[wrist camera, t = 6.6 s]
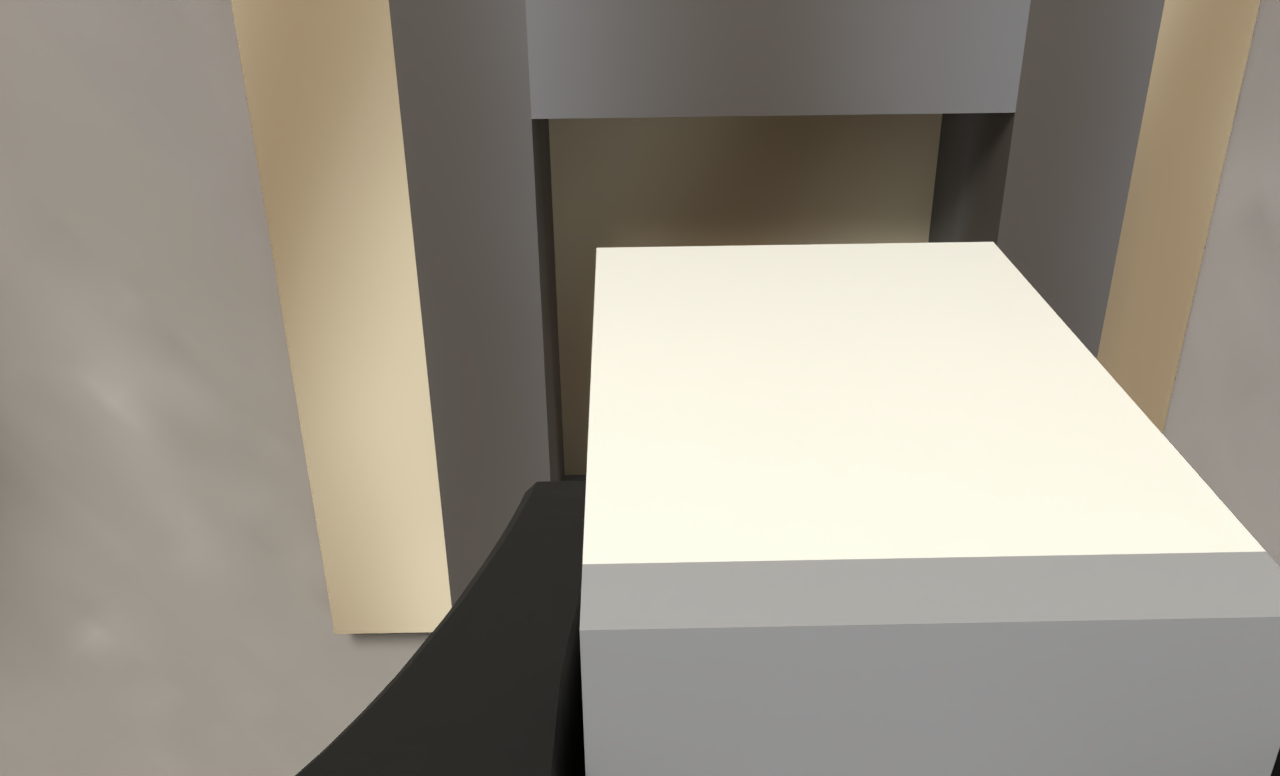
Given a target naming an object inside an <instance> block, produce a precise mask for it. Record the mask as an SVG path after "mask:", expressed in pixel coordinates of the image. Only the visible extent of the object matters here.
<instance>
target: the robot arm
mask: <svg viewBox="0 0 1280 776" xmlns="http://www.w3.org/2000/svg"><path fill="white" fill-rule="evenodd" d="M585 496H586V481H542V482H536V483H535V484H534V485H533V486H532V487H531V488H529V489H528V490H527V491H526V492H525V494H524V496H523V498H522V500H521V502H520V504H519V506H518V508H517V510H516V512H515V513H514V515H513V517H512V519H511V520H510V522H509V524H508V526H507V527H506V529H505V531H504V532H503V534H502V535H501V537H500V539H499V540H498V542H497V543H496V545H495V546H494V548H493V550H492V551H491V553H490V554H489V556H488V557H487V559H486V560H485V562H484V563H483V565H482V566H481V568H480V569H479V570H478V572H477V573H476V575H475V576H474V577H473V579H472V580H471V582H470V583H469V584H468V586H467V587H466V589H465V590H464V591H463V593H462V594H461V596H460V597H459V598H458V600H457V601H456V603H455V604H454V606H453V607H452V608H451V609H450V611H449V612H448V613H447V615H446V616H445V617H444V619H443V620H442V621H441V622H440V624H439V625H438V626H437V627H436V628H435V630H434V631H433V632H432V633H431V634H430V636H429V637H428V638H427V639H426V641H425V642H424V643H423V644H422V645H421V647H420V648H419V649H418V650H417V651H416V653H415V654H414V655H413V656H412V658H411V659H410V660H409V661H408V662H407V664H406V665H405V666H404V667H403V668H402V670H401V671H400V672H399V673H398V674H397V675H396V676H395V678H394V679H393V680H392V681H391V682H390V683H389V684H388V685H387V686H386V687H385V689H384V690H383V691H382V692H381V693H380V694H379V695H378V696H377V697H376V698H375V699H374V700H373V702H372V703H371V704H370V705H369V706H368V707H367V708H366V709H365V710H364V711H363V712H362V713H361V714H360V715H359V716H358V717H357V718H356V719H355V720H354V721H353V722H352V723H351V724H350V725H349V726H348V727H347V728H346V729H345V730H344V731H343V732H342V733H341V734H340V735H339V736H338V737H337V738H336V739H335V740H334V741H333V742H332V743H331V744H330V745H329V746H328V747H327V748H326V749H324V750H323V751H322V752H321V753H320V754H319V755H318V756H317V757H316V758H315V759H313V760H312V761H311V762H310V763H309V764H308V765H307V766H306V767H304V768H303V769H302V770H301V771H300V772H299V773H298V774H297V775H295V776H586V775H585V751H584V726H583V702H582V678H581V654H580V608H581V586H582V563H583V541H584V518H585ZM1271 776H1280V748H1279V751H1278V754H1277V757H1276V760H1275V764H1274V767H1273V770H1272V773H1271Z"/></svg>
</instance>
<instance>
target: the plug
mask: <svg viewBox="0 0 1280 776" xmlns="http://www.w3.org/2000/svg"><path fill="white" fill-rule="evenodd" d="M580 654H581V678H582V702H583V726H584V751H585V775H586V776H1271V773H1272V770H1273V767H1274V764H1275V760H1276V757H1277V754H1278V751H1279V748H1280V567H1279V566H1278V565H1277V564H1276V563H1275V561H1274V560H1273V559H1272V558H1271V557H1270V556H1269V555H1268V553H1267V552H1266V551H1265V550H1264V549H1263V548H1262V547H1261V546H1260V544H1259V543H1258V542H1257V541H1256V540H1255V539H1254V538H1253V536H1252V535H1251V534H1250V533H1249V532H1248V531H1247V530H1246V528H1245V527H1244V526H1243V525H1242V524H1241V523H1240V522H1239V521H1238V519H1237V518H1236V517H1235V516H1234V515H1233V514H1232V513H1231V511H1230V510H1229V509H1228V508H1227V507H1226V506H1225V505H1224V503H1223V502H1222V501H1221V500H1220V499H1219V498H1218V497H1217V496H1216V494H1215V493H1214V492H1213V491H1212V490H1211V489H1210V488H1209V486H1208V485H1207V484H1206V483H1205V482H1204V481H1203V480H1202V479H1201V477H1200V476H1199V475H1198V474H1197V473H1196V472H1195V471H1194V469H1193V468H1192V467H1191V466H1190V465H1189V464H1188V463H1187V461H1186V460H1185V459H1184V458H1183V457H1182V456H1181V455H1180V454H1179V452H1178V451H1177V450H1176V449H1175V448H1174V447H1173V446H1172V444H1171V443H1170V442H1169V441H1168V440H1167V439H1166V438H1165V436H1164V435H1163V434H1162V433H1161V432H1160V431H1159V430H1158V429H1157V427H1156V426H1155V425H1154V424H1153V423H1152V422H1151V421H1150V419H1149V418H1148V417H1147V416H1146V415H1145V414H1144V413H1143V411H1142V410H1141V409H1140V408H1139V407H1138V406H1137V405H1136V404H1135V402H1134V401H1133V400H1132V399H1131V398H1130V397H1129V396H1128V394H1127V393H1126V392H1125V391H1124V390H1123V389H1122V388H1121V386H1120V385H1119V384H1118V383H1117V382H1116V381H1115V380H1114V379H1113V377H1112V376H1111V375H1110V374H1109V373H1108V372H1107V371H1106V369H1105V368H1104V367H1103V366H1102V365H1101V364H1100V363H1099V361H1098V360H1097V359H1096V358H1095V357H1094V356H1093V355H1092V354H1091V352H1090V351H1089V350H1088V349H1087V348H1086V347H1085V346H1084V344H1083V343H1082V342H1081V341H1080V340H1079V339H1078V338H1077V336H1076V335H1075V334H1074V333H1073V332H1072V331H1071V330H1070V329H1069V327H1068V326H1067V325H1066V324H1065V323H1064V322H1063V321H1062V319H1061V318H1060V317H1059V316H1058V315H1057V314H1056V313H1055V312H1054V310H1053V309H1052V308H1051V307H1050V306H1049V305H1048V304H1047V302H1046V301H1045V300H1044V299H1043V298H1042V297H1041V296H1040V294H1039V293H1038V292H1037V291H1036V290H1035V289H1034V288H1033V287H1032V285H1031V284H1030V283H1029V282H1028V281H1027V280H1026V279H1025V277H1024V276H1023V275H1022V274H1021V273H1020V272H1019V271H1018V269H1017V268H1016V267H1015V266H1014V265H1013V264H1012V263H1011V262H1010V260H1009V259H1008V258H1007V257H1006V256H1005V255H1004V254H1003V252H1002V251H1001V250H1000V249H999V248H998V247H997V246H996V244H995V243H994V242H944V243H877V244H811V245H745V246H679V247H613V248H597V249H596V272H595V294H594V317H593V339H592V361H591V384H590V406H589V429H588V451H587V474H586V496H585V518H584V541H583V563H582V586H581V608H580Z"/></svg>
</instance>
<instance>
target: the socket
mask: <svg viewBox="0 0 1280 776" xmlns="http://www.w3.org/2000/svg"><path fill="white" fill-rule="evenodd" d="M1260 1H1261V0H231V4H232V10H233V16H234V22H235V29H236V35H237V41H238V47H239V53H240V59H241V65H242V71H243V77H244V84H245V90H246V96H247V102H248V108H249V114H250V120H251V126H252V132H253V139H254V145H255V151H256V157H257V163H258V169H259V175H260V181H261V187H262V193H263V200H264V206H265V212H266V218H267V224H268V230H269V236H270V242H271V248H272V255H273V261H274V267H275V273H276V279H277V285H278V291H279V297H280V303H281V310H282V316H283V322H284V328H285V334H286V340H287V346H288V352H289V358H290V365H291V371H292V377H293V383H294V389H295V395H296V401H297V407H298V413H299V420H300V426H301V432H302V438H303V444H304V450H305V456H306V462H307V468H308V474H309V481H310V487H311V493H312V499H313V505H314V511H315V517H316V523H317V529H318V536H319V542H320V548H321V554H322V560H323V566H324V572H325V578H326V584H327V591H328V597H329V603H330V609H331V615H332V621H333V627H334V633H335V634H362V633H416V632H433V631H434V630H435V628H436V627H437V626H438V625H439V624H440V622H441V621H442V620H443V619H444V617H445V616H446V615H447V613H448V612H449V611H450V609H451V608H452V607H453V606H454V604H455V603H456V601H457V600H458V598H459V597H460V596H461V594H462V593H463V591H464V590H465V589H466V587H467V586H468V584H469V583H470V582H471V580H472V579H473V577H474V576H475V575H476V573H477V572H478V570H479V569H480V568H481V566H482V565H483V563H484V562H485V560H486V559H487V557H488V556H489V554H490V553H491V551H492V550H493V548H494V546H495V545H496V543H497V542H498V540H499V539H500V537H501V535H502V534H503V532H504V531H505V529H506V527H507V526H508V524H509V522H510V520H511V519H512V517H513V515H514V513H515V512H516V510H517V508H518V506H519V504H520V502H521V500H522V498H523V496H524V494H525V492H526V491H527V490H528V489H529V488H531V487H532V486H533V485H534V484H535V483H536V482H542V481H586V474H587V451H588V429H589V406H590V384H591V361H592V339H593V317H594V294H595V272H596V249H597V248H613V247H679V246H745V245H811V244H877V243H944V242H994V243H995V244H996V246H997V247H998V248H999V249H1000V250H1001V251H1002V252H1003V254H1004V255H1005V256H1006V257H1007V258H1008V259H1009V260H1010V262H1011V263H1012V264H1013V265H1014V266H1015V267H1016V268H1017V269H1018V271H1019V272H1020V273H1021V274H1022V275H1023V276H1024V277H1025V279H1026V280H1027V281H1028V282H1029V283H1030V284H1031V285H1032V287H1033V288H1034V289H1035V290H1036V291H1037V292H1038V293H1039V294H1040V296H1041V297H1042V298H1043V299H1044V300H1045V301H1046V302H1047V304H1048V305H1049V306H1050V307H1051V308H1052V309H1053V310H1054V312H1055V313H1056V314H1057V315H1058V316H1059V317H1060V318H1061V319H1062V321H1063V322H1064V323H1065V324H1066V325H1067V326H1068V327H1069V329H1070V330H1071V331H1072V332H1073V333H1074V334H1075V335H1076V336H1077V338H1078V339H1079V340H1080V341H1081V342H1082V343H1083V344H1084V346H1085V347H1086V348H1087V349H1088V350H1089V351H1090V352H1091V354H1092V355H1093V356H1094V357H1095V358H1096V359H1097V360H1098V361H1099V363H1100V364H1101V365H1102V366H1103V367H1104V368H1105V369H1106V371H1107V372H1108V373H1109V374H1110V375H1111V376H1112V377H1113V379H1114V380H1115V381H1116V382H1117V383H1118V384H1119V385H1120V386H1121V388H1122V389H1123V390H1124V391H1125V392H1126V393H1127V394H1128V396H1129V397H1130V398H1131V399H1132V400H1133V401H1134V402H1135V404H1136V405H1137V406H1138V407H1139V408H1140V409H1141V410H1142V411H1143V413H1144V414H1145V415H1146V416H1147V417H1148V418H1149V419H1150V421H1151V422H1152V423H1153V424H1154V425H1155V426H1156V427H1157V429H1158V430H1159V431H1160V432H1161V433H1162V434H1163V430H1164V425H1165V421H1166V417H1167V412H1168V408H1169V403H1170V399H1171V394H1172V390H1173V386H1174V381H1175V377H1176V372H1177V368H1178V363H1179V359H1180V355H1181V350H1182V346H1183V341H1184V337H1185V333H1186V328H1187V324H1188V319H1189V315H1190V310H1191V306H1192V302H1193V297H1194V293H1195V288H1196V284H1197V280H1198V275H1199V271H1200V266H1201V262H1202V257H1203V253H1204V249H1205V244H1206V240H1207V235H1208V231H1209V226H1210V222H1211V218H1212V213H1213V209H1214V204H1215V200H1216V196H1217V191H1218V187H1219V182H1220V178H1221V173H1222V169H1223V165H1224V160H1225V156H1226V151H1227V147H1228V142H1229V138H1230V134H1231V129H1232V125H1233V120H1234V116H1235V112H1236V107H1237V103H1238V98H1239V94H1240V89H1241V85H1242V81H1243V76H1244V72H1245V67H1246V63H1247V58H1248V54H1249V50H1250V45H1251V41H1252V36H1253V32H1254V28H1255V23H1256V19H1257V14H1258V10H1259V5H1260Z"/></svg>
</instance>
